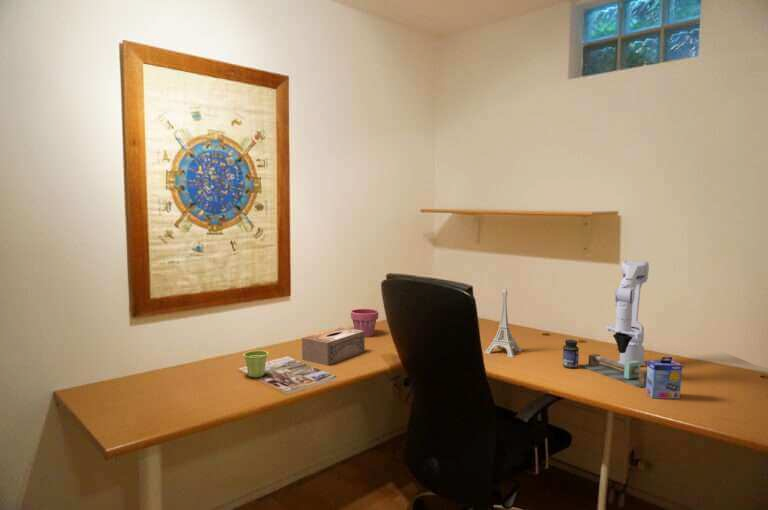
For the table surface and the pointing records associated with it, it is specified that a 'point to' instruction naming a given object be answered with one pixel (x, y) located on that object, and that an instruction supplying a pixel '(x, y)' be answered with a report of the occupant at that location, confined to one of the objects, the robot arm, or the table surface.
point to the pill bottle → (570, 354)
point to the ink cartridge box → (663, 378)
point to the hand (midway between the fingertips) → (622, 352)
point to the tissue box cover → (333, 345)
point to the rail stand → (615, 370)
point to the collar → (628, 369)
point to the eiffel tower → (504, 327)
